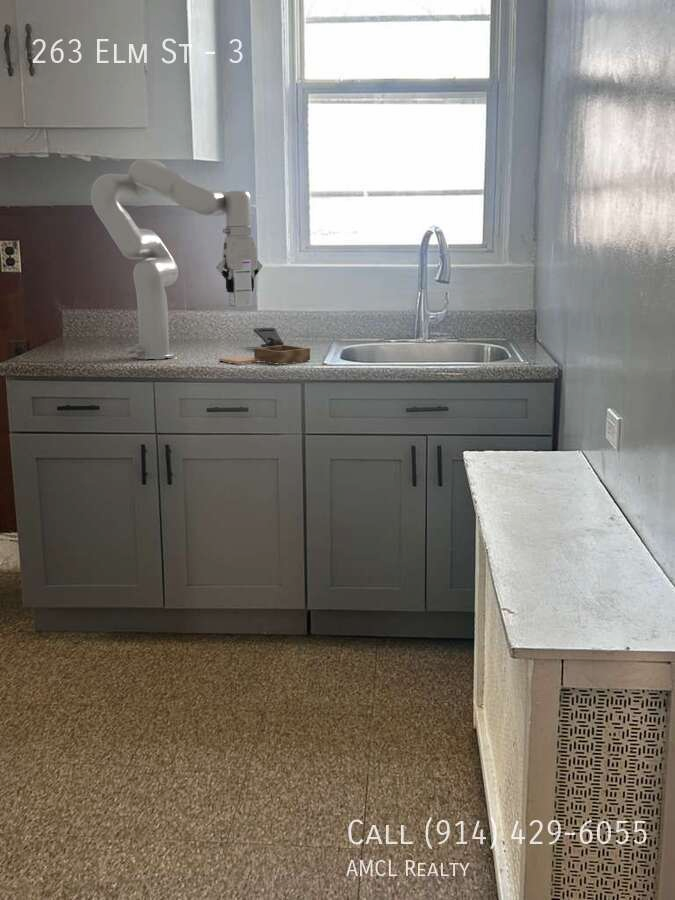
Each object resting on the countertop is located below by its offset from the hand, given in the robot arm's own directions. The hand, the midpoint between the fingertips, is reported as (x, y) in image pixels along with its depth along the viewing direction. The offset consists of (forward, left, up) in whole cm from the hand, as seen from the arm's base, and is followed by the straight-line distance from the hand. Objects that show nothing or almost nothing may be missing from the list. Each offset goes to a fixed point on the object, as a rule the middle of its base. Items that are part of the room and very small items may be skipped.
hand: (240, 291), depth 324 cm
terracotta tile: (0, 0, -22) cm, 22 cm away
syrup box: (0, 0, -5) cm, 5 cm away
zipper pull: (+24, +13, -22) cm, 35 cm away
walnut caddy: (+10, -8, -22) cm, 25 cm away
